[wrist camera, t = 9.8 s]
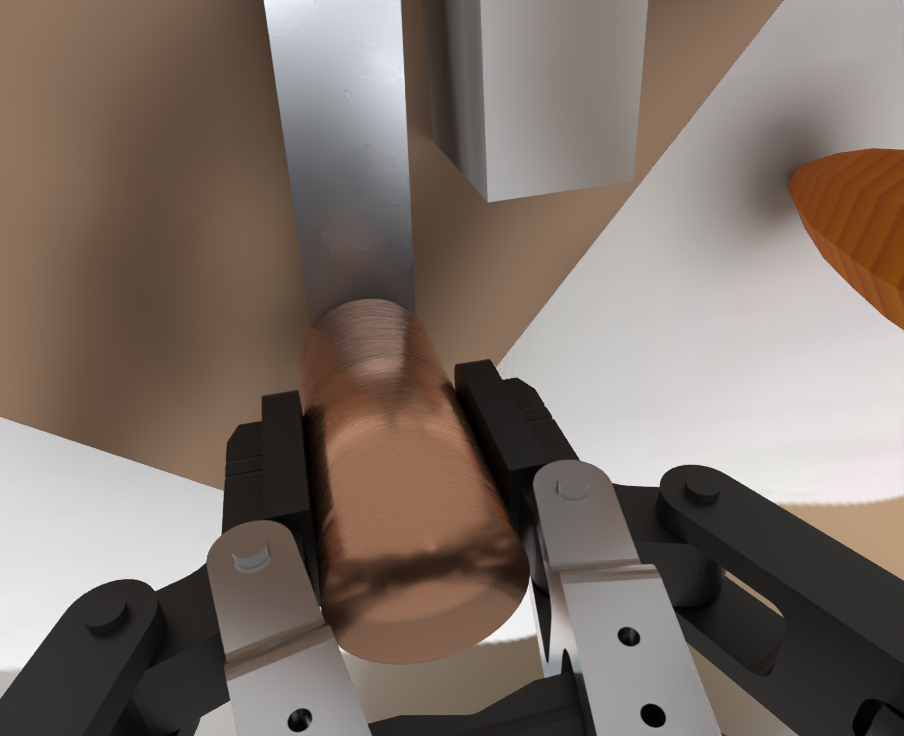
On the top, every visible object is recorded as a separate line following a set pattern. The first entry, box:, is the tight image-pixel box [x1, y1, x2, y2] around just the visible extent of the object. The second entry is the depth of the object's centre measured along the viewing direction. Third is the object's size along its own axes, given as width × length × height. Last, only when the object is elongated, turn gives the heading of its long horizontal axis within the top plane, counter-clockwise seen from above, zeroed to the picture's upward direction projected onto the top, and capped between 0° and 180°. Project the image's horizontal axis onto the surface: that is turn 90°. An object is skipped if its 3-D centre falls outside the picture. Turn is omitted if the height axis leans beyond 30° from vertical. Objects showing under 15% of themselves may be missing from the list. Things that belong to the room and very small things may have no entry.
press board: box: [0, 0, 783, 491], centre depth 13 cm, size 20×26×7 cm
